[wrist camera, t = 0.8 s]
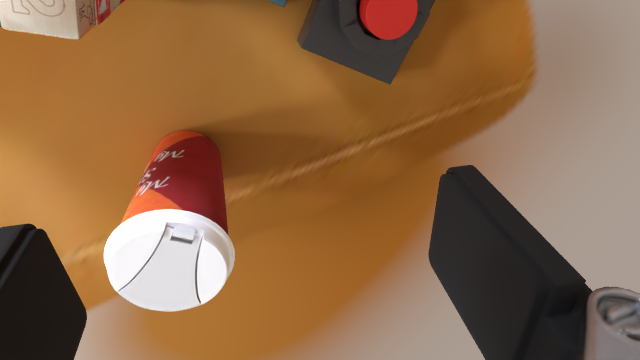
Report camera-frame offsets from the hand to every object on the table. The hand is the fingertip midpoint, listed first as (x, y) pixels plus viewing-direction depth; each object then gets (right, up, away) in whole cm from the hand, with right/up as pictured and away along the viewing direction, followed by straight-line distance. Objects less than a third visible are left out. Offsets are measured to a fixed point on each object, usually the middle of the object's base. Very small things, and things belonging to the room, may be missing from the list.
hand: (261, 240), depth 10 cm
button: (+6, +14, +19) cm, 24 cm away
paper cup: (-10, +3, +26) cm, 28 cm away
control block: (+5, +15, +22) cm, 27 cm away
